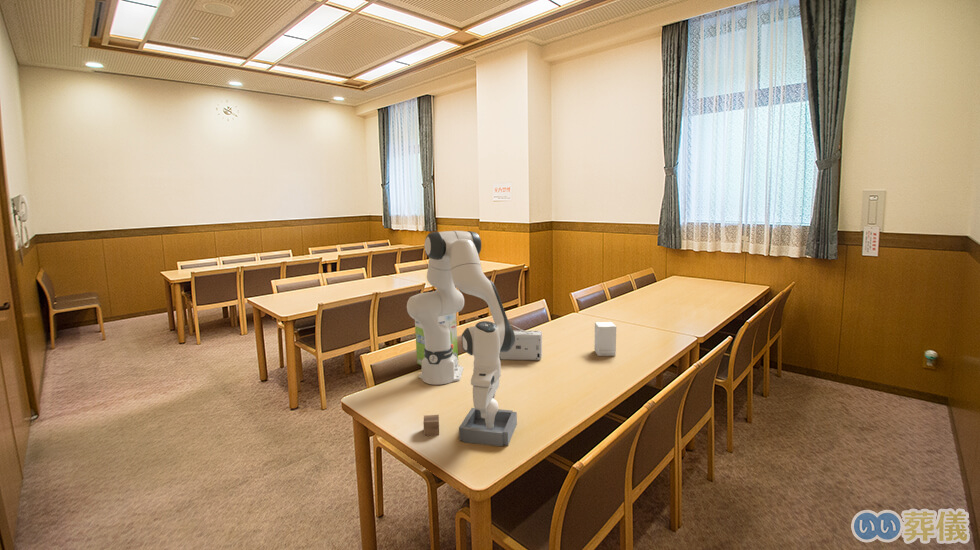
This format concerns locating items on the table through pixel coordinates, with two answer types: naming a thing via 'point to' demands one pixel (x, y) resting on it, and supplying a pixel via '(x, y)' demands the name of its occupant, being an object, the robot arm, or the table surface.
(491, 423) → the lightbulb
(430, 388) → the table surface
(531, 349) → the stereo radio cassette player
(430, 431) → the walnut block
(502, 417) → the gray square tray
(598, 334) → the supplement box
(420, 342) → the toothbrush box
